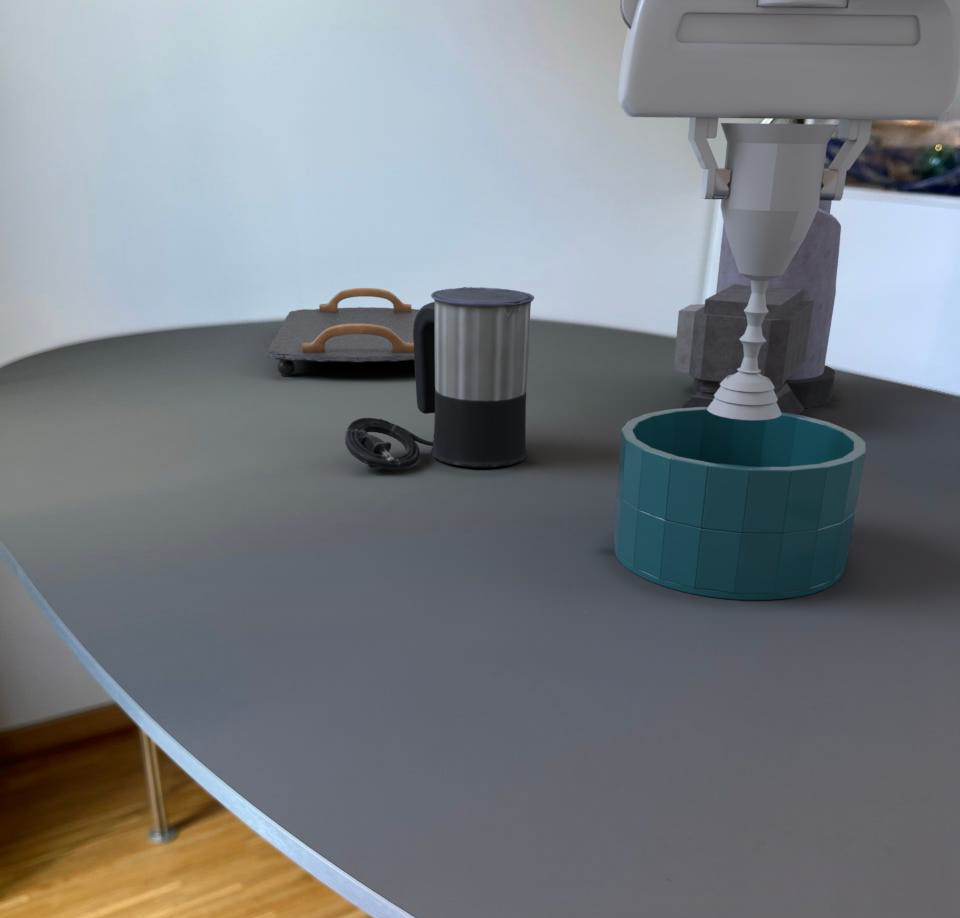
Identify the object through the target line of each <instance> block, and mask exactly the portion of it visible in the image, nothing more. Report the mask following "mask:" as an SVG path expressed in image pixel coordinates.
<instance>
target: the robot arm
mask: <svg viewBox="0 0 960 918" xmlns="http://www.w3.org/2000/svg"><path fill="white" fill-rule="evenodd" d="M619 11H620V15H621V18H622V20H623V22H624V24H625V26H627V30H626V31H627V32H626V36H625V40H624V41H625V42H624V47H623V52H622V56H621V57H622V58H621V65H620V71H619V79H618V89H617V102H618V104H619V107H620V108H621V109H622V111H623V112H624V114H626V116H627V117H630V118H661V119H663V118H666V119H668V118H669V119H670V118H671V119H672V118H673V119H674V118H680V119H681V118H682V119H683V118H684V119H685V118H687V119H688V118H689V121H688V133H687V134H688V135H687V139H688V142H689V144H690V146H691V149H692V150H693V153H694V155H695V158H696V160H697V162H698V164H699V166H700V168H701V169H702V174H701V182H700V183H701V184H700V199H703V200H721V199H727V198H728V195H729V187H728V185H727V184H728V183H729V182H730V177H731V169H725V167H724V168H723V167H719V166H718V162H717V161H716V158H715V155H714V153H713V151H712V148H711V146H710V143H709V141H708V139H716V138H717V134H718V127H719V119H764V120H765V119H769V120H771V119H772V120H779V119H780V120H785V119H786V120H838V129H837V137H836V138H837V139H838V140H839V141H841V140H842V141H843V140H844V143H843V144H842V146H841V148H840V149H839V151H838V152H837V153H836V155H835V157H834V159H833V160H832V161H831V163H830V164H829V166H828V168H824V170H823V177H822V185H821V191H820V199H819V200H829V201H832V202H833V201H834V202H835V201H836V202H839V201H841V200H842V199H843V195H844V190H845V184H846V177H847V171H849V170H850V169H851V168H852V166H853V165H854V163H856V160H858V158H859V156H860V155H861V154H862V152H863V150H865V148H866V147H867V145H868V144H869V142H870V138H871V133H872V127H873V126H872V125H873V121H921V122H923V121H924V122H929V121H930V122H931V121H939V120H940V119H941V118H942V117H943V116H944V115H945V114H946V113H947V112H948V111H949V109H950V108H951V107H952V106H953V104H954V103H955V101H956V98H957V95H958V89H959V85H960V0H619Z"/></svg>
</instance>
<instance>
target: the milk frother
mask: <svg viewBox="0 0 960 918" xmlns="http://www.w3.org/2000/svg"><path fill="white" fill-rule="evenodd" d="M430 297H431V298H432V299H433V301H431V302H429V303H426V304H424V305H423V306H421V308H420V309H418V310H419V311H418V313H417V315H416V318H415V321H414V327H413V340H414V360H413V362H414V376H415V377H414V378H415V395H416V407H417V409H418V411H419V412H420V413H422V414H425V415H427V414H434V422H433V423H434V424H433V425H434V427H433V428H434V429H433V439H432V440H433V441H429V440H426V439H423V438H422V437H420V436H418V435H416V434H415V433H413V432H411V431H409V430H408V429H406V428H404V427H402V426H400V425H398V424H394V423H393V422H391V421H388V420H385V419H382V418H376V417H360V418H357V419H355V420H353V421H352V422H351V423H350V424H349V425H348V427H347V429H346V431H345V436H344V443H345V446H346V448H347V451H348V452H349V453H350V454H351V456H353V457H354V458H355V459H357V460H358V461H359V462H362V463H363V464H365V465H368V467H369V468H371V469H375V468H380V469H385V470H395V469H397V470H398V469H404V468H408V467H411V466H412V465H415V464H416V463H417V461H418V460H419V456H420V447H419V445H418V444H417V443H419V444H422V445H426V446H430V447H431V450H430V454H431V456H432V457H433V458H434V459H436V460H438V461H440V462H442V463H445V464H448V465H452V466H458V467H468V468H482V469H483V468H484V469H485V468H498V467H507V466H511V465H516V464H518V463H520V462H523V461H524V460H526V458H527V457H528V456H529V455H528V453H529V452H528V449H527V448H526V446H527V445H526V443H527V441H526V439H527V438H526V434H527V433H526V429H527V428H526V422H527V421H526V420H527V419H526V418H527V416H526V414H527V413H526V412H527V388H528V376H529V375H528V372H529V371H528V370H529V349H530V331H531V330H530V329H531V307H532V302H533V301H534V300H535V296H534V295H532V294H531V293H529V292H524V291H520V290H514V289H509V288H508V289H506V288H500V287H499V288H498V287H494V288H493V287H480V286H479V287H472V286H469V287H467V286H463V287H457V288H456V287H455V288H444V289H439V290H436V291H434V292H432V293H430ZM369 433H376V434H382V435H386V436H389V437H391V438H393V439H395V440H396V441H398V442H399V443H400V444H401V445H402V446H403V447H404V449H405V452H404V453H403V454H400V455H397V456H392V455H391V452H390V451H391V448H392V443H391V442H390V441H384V440H382V439H381V438H380V437H378V436H376V435H373V434H369Z"/></svg>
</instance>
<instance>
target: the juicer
mask: <svg viewBox="0 0 960 918" xmlns="http://www.w3.org/2000/svg"><path fill="white" fill-rule="evenodd" d="M832 202H833V201H829V200H819V206H818V210H817V213H816V215H815V217H814V219H813V221H812V223H811V226H810V228H809V230H808V232H807V234H806V236H805V239H804V240H803V242H802V244H801V245H800V247H799V249H798V250H797V252H796V254H795V255H794V257H793V259H792V260H791V262H790V263H789V265H788V267H787V268H786V270H785V272H784V273H783V275H781V276H779V277H777V278H774V279H772V280H769V283H768V286H767V289H766V292H765V298H766V307H767V309H768V311H769V312H768V313H767V315H766V316H765V317H764V320H763V322H762V325H761V328H762V335H763V337H764V338H765V339H766V342H765V343H764V344H762V345H761V348H760V351H759V354H758V357H757V361H758V369H759V370H761V372H758V373H760V374H761V375H762V376H764V377H767V378H769V379H770V381H771V382H772V384H773V385H774V387H775V388H774V389H773V390H774V392H775V394H776V396H777V399H778V400H777V402H776V403H777V405H778V407H779V409H780V411H781V412H783V413H789V414H796V415H801V413H802V412H803V411H804V410H805V409H811V408H817V407H820V406H821V407H822V406H824V405H827V404H829V403H830V402H831V400H832V398H833V391H834V385H835V378H836V370H835V369H833V368H832V367H830V366H828V365H826V360H827V353H828V346H829V340H830V335H831V326H832V319H833V315H834V306H835V300H836V293H837V277H838V267H839V259H840V245H841V234H842V233H841V232H842V224H841V223H840V222H839V220H838V218H836V217H835V216H834V215H833V214H832V213H831V209H832V204H833V203H832ZM722 223H723V224H722V232H721V233H722V234H721V242H720V243H721V244H720V252H719V262H718V272H717V281H716V291H715V294H713V295H711V296H709V297H707V298H706V299H704V303H700V304H689V305H687V306H685V307H683V308H682V309H679V310H678V314H677V315H678V317H677V326H676V328H677V329H676V336H675V337H676V339H675V348H674V349H675V350H674V361H673V371H675V372H679V373H684V374H688V376H691V377H693V384H692V391H693V393H694V394H693V395H692V396H691V397H690V398H689V399H688V400H687V401H686V402H685V404H683V406H682V407H681V408H694V407H708V406H709V405H710V404H711V402H712V401H713V400H714V398H715V397H714V394H715V393H716V392H717V390H718V389H719V388H720V383H721V382H722V381H723V380H724V379H725V378H726V377H727V376H729V375H733V374H735V373H737V372H739V371H738V370H737V369H738V368H740V367H741V364H742V361H743V358H744V350H743V344H742V342H741V341H740V340H739V339H740V338H741V337H742V336H743V335H744V334H745V331H746V328H747V326H748V323H747V316H746V314H745V312H744V310H745V308H746V307H747V306H748V303H749V300H750V296H751V293H752V290H751V279H749V278H747V277H745V276H744V275H742V274H741V273H739V271H738V268H737V265H736V262H735V259H734V256H733V253H732V250H731V247H730V244H729V242H728V239H727V235H726V231H725V226H724V222H722Z"/></svg>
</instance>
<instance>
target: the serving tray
mask: <svg viewBox="0 0 960 918" xmlns="http://www.w3.org/2000/svg"><path fill="white" fill-rule="evenodd" d="M359 297H360V298H361V297H364V298H365V297H368V298H369V297H372V298H380V299H384V300H387V301H389V302H390V303H391V304H392V306H393V307H374V306H373V307H371V306H369V307H364V306H363V307H360V306H358V307H357V306H356V307H339V303H340V302H341V301H344V300H346V299H351V298H359ZM318 307H319V308H314V309H303V308H302V309H297V310H291V311H289V312H288V314H287V315H286V317H285V319H284V320H283V322H282V325H281V326H280V328H279V329H278V331H277V332H276V334H275V337H274V339H273V340H272V341H271V343H270V345H269V348H268V349H267V352H266V357H267V358H270V359H275V360H278V363H277V370H278V372H279V373H280V375H281V376H282V377H292V376H293V375H294V373H295V370H296V364H295V361H302V362H303V361H305V362H319V363H330V362H338V363H339V362H340V363H374V362H375V363H381V362H387V363H388V362H390V363H393V362H405V361H406V362H410V361H414V340H413V327H414V321H415V318H416V315H417V313H418V311H419V310H420V309H416V308H412V304H411V303H404V302H402V300H401V299H400V298H399V297H397V295H396V294H394V293H393V292H391V291H389V290H387V289H382V288H375V287H356V288H355V287H353V288H347V289H343V290H341V291H340V292H338V293H336V294H335V295H333V297H332V298H331V299H330V300H329V301H328V302H327V303H320V304H319V305H318Z"/></svg>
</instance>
